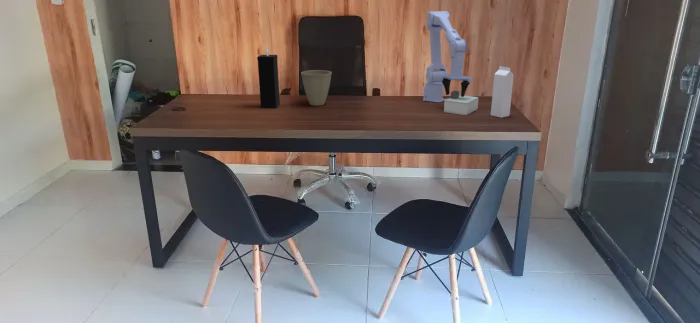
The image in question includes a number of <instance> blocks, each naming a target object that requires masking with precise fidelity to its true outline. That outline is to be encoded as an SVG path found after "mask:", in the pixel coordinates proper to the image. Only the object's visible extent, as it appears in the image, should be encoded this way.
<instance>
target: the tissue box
mask: <svg viewBox="0 0 700 323" xmlns="http://www.w3.org/2000/svg"><path fill="white" fill-rule="evenodd" d="M265 52H266V54H260V55H258V56H257V57H256V59H257V70H258V83H259V97H260V98H259V99H260V102H259V103H260V108H261V109H277V108H278V107H279V106H280V104H281V103H280V102H281V100H280V84H279V65H278V64H279V63H278V54H269V48H266V49H265Z"/></svg>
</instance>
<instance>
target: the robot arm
mask: <svg viewBox="0 0 700 323" xmlns="http://www.w3.org/2000/svg"><path fill="white" fill-rule="evenodd" d="M450 18H451V17H450V13H449V11H447V10H442V11H432V10H430V11H428V13H427V16H426V27H427V28H426V29H427V30H429V42H430V43H429V44H430V60H431V61H430V62H431V64H430V65H428V67H426V74H425V79H426V83H424V87H423V99H422V101H426V102H431V103H432V102H433V103H442V102H445V100H446V99H447V98H444V91H445V95H446V96H448V95H450V87H451V83H452V82H451V81H459V82H460V85H461V86H460V87H461V90H460V91H461V92H460V95H461V97H464V96H466V95H465V94H466V91H467V89H468V87H469V85H470V83H471V82H472V80H473V78H472V76H471V77H470V76H465V75H463V74H464V73H463V72H464V62H465V61H464V60H465V53H466V52H467V50H468V42H467V40H466V39H463V38H461V35H459V33H458V31H457V30H456V29H455V28H453V27H452V24H451V21H450V20H451V19H450ZM442 30H443V31H444V32H445V39H446V41H447V43H448V44H449V47H448V49H449V56H450V57H451V58H450V72H449V74H448V71H447V66H446V65H444V64H443V63H442V47H441V46H442V44H441V31H442Z"/></svg>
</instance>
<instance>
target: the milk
mask: <svg viewBox="0 0 700 323" xmlns="http://www.w3.org/2000/svg"><path fill="white" fill-rule="evenodd" d="M513 86H514V73H513V72H512V71H511V67H506V66H501V65H499V66H498V70H497V71H496V72H495V73H494V76H493V86H492V97H491V107H490V108H491V109H490V116H493V117H496V118H501V119H502V118H505V117H509V116H510V115H511V103H512V95H513V94H512V93H513Z"/></svg>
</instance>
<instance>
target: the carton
mask: <svg viewBox="0 0 700 323" xmlns="http://www.w3.org/2000/svg"><path fill="white" fill-rule="evenodd" d="M443 102H444V103H443V104H444V106H443V112H444V113H447V114H448V113H449V114H456V115H461V116H462V115H463V116H468V115H469V114H472V113H473V112H474V111H477V110H479V108H478V107H479V98H478V99H477V100H475V101H473V102H471V103H468V104H461V103H454V102H446V101H445V100H444V101H443Z"/></svg>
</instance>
